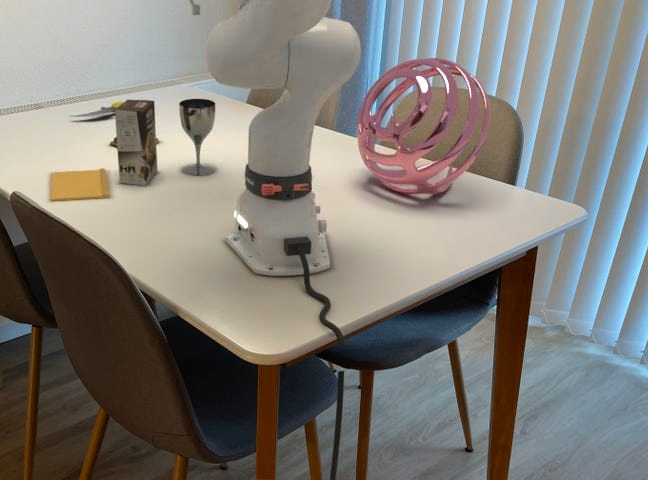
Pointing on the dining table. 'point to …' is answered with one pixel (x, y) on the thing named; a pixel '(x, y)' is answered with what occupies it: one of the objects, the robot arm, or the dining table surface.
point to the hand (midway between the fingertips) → (219, 14)
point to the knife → (102, 111)
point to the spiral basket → (397, 132)
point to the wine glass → (197, 128)
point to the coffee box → (136, 141)
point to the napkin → (79, 185)
